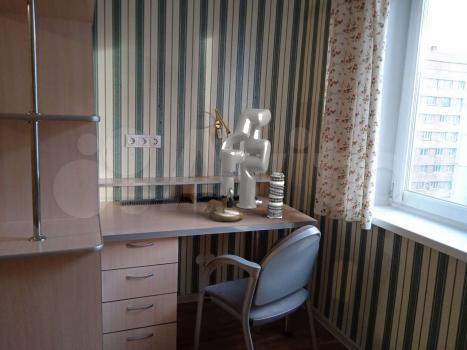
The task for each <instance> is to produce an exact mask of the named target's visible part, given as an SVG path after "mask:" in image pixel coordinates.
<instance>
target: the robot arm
mask: <svg viewBox="0 0 467 350" xmlns="http://www.w3.org/2000/svg"><path fill="white" fill-rule="evenodd" d="M271 119H272V114H271V111H270V110H269V109H268V108H246V109H244V110H243V111H242V112H241V113H240V114H239V116H238V120H237V123H236V126H235V129H234V132H233V133H231V134H230V135H229V136H227V138H225V139H224V140H223V142H222V143H221V146H220V150H219V154H218V155H219V156H218V158H219V161H220V162H221V172H220V176H221V182H220V194H221V200H222V199H224V198H226V197H227V208H226V209H232V208H234V194H235V178H236V166H237V165H236V164H239V172H240V173H239V175H240V177H239V178H240V179H239V196H238V197H239V199H238V203H236V207H237V208H239V209H244V210H252V209H253V210H254V209H257V207H258V206H257V205H262V204H263V201H262V200H256V197H255V196H256V184H257V178H256V176H255V174H254V173H263V174H264V173H266V172H267V170H268V168H269V164H270V163H269V162H270V156H271V148H272V147H271V146H272V145H271V142H270V140H268V139H266V138H265V139H264V138H261V132H262V131H261V127H264V126H266V125H267V124H269V123H270V121H271ZM243 141H244V150H241V149H234V148H233V149H232V148H231V147H232V146H234V145H236V144H238V143H241V142H243ZM246 154H251V155H246ZM257 155H260V156H257Z"/></svg>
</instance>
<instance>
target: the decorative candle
mask: <svg viewBox="0 0 467 350" xmlns="http://www.w3.org/2000/svg"><path fill="white" fill-rule="evenodd" d="M269 179H270V180H269V181H268V184H267V186H268V190H267V191H268V192H267V193H268V204H267V210H266V212H267V213H266V217H267V218H268V217H269V218H268V219H272V218H281V219H282V218H283V213H284V212H283V209H284V208H283V207H284V205H283V204H284V203H283V202H284V201H283V198H284V197H285V192H284V191H285V190H286V189H285V187H286V186H285V175H284V173H282V172H278V171H274V172H272V173H271V174H270V175H269Z"/></svg>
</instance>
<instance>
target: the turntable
mask: <svg viewBox="0 0 467 350" xmlns="http://www.w3.org/2000/svg"><path fill="white" fill-rule="evenodd" d="M212 211H214V213H212V212H211V210H210V211H209V217H210V219H213V220H215V221H220V222H221V221H222V222H236V221H240V220H242V219H243V217H244V213H243V212H242V211H239V210H237V209H232V208H225V210H224V211H225V214H223V212H222V208H217V207H216V206H215V205H214V206H213V209H212Z"/></svg>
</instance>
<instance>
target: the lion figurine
mask: <svg viewBox="0 0 467 350" xmlns="http://www.w3.org/2000/svg"><path fill="white" fill-rule="evenodd" d="M214 205H215V206H216V208H217V209H222V212H223V214H225V211H224V210H225V209H228V208H227V197H226V198H224V199H222V198H221V199H220V200H216V199H211V200H209V201H208V203H207V206H206V208H205V209H204V211H205V212H207V211H208V212H210V211H211V212H212V213H214V211H212V210H213V206H214Z"/></svg>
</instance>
